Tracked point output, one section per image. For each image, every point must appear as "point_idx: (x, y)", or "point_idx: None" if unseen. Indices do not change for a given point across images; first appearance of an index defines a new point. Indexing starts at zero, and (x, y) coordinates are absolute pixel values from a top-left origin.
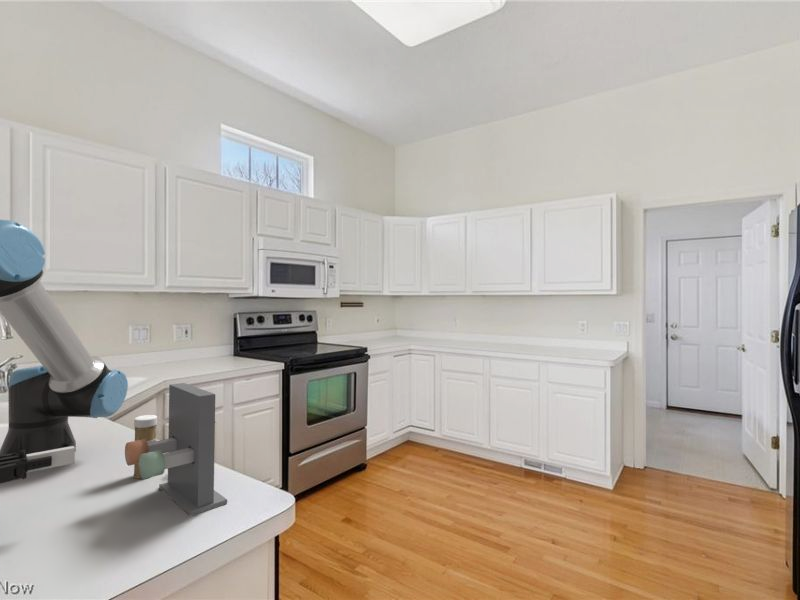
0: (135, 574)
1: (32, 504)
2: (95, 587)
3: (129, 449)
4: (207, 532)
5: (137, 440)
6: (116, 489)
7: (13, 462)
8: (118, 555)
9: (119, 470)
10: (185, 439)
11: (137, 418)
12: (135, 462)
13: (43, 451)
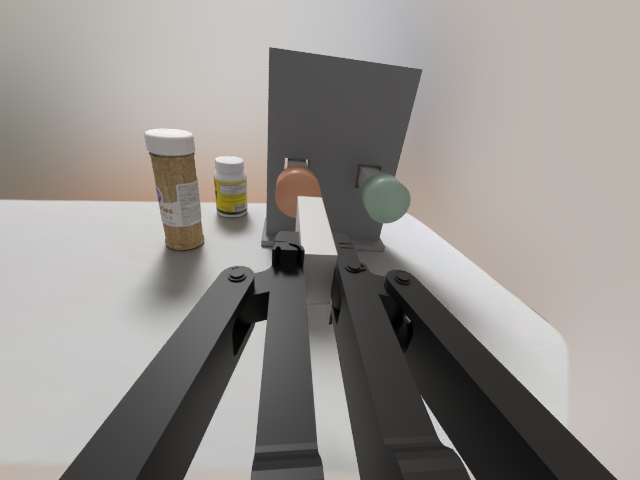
0: (521, 318)
1: (91, 395)
2: (551, 356)
3: (307, 186)
4: (436, 254)
5: (178, 182)
6: (203, 274)
7: (376, 289)
8: (463, 320)
9: (107, 253)
10: (346, 156)
11: (161, 135)
12: None
13: (301, 228)
